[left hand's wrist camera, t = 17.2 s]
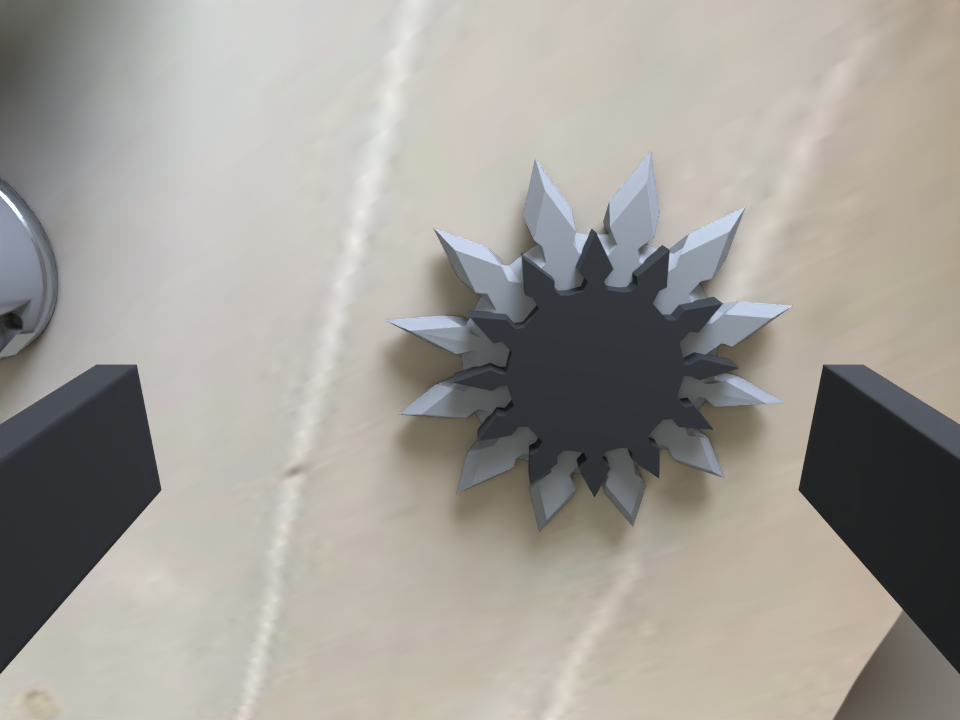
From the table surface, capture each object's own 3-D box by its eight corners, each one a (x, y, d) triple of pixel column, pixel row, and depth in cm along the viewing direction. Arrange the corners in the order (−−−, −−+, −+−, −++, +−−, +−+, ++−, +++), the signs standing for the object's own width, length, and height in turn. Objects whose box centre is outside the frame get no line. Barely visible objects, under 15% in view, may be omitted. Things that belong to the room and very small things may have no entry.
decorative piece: (347, 517, 48) (418, 95, 38) (356, 489, 52) (424, 98, 42) (729, 587, 50) (892, 205, 40) (711, 555, 54) (857, 198, 44)
